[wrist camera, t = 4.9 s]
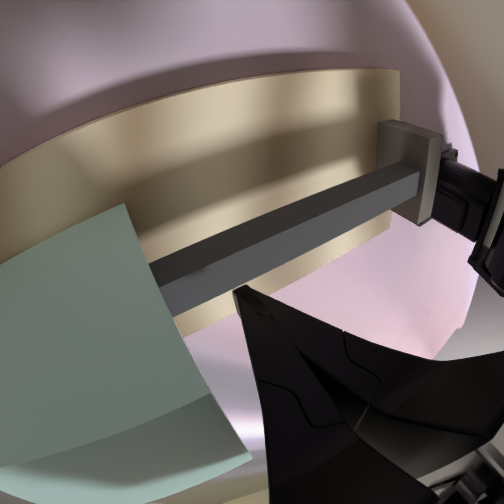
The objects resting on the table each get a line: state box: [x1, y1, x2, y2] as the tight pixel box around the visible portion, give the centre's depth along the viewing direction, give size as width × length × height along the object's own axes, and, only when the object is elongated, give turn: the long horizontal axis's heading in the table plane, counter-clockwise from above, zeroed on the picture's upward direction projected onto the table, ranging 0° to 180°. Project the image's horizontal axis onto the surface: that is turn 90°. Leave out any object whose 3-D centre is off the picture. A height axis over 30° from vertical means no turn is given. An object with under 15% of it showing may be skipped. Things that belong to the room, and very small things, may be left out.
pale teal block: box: [0, 203, 253, 504], centre depth 7 cm, size 6×5×8 cm
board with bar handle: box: [0, 68, 443, 338], centre depth 11 cm, size 30×11×5 cm, turn 98°
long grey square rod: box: [149, 162, 421, 317], centre depth 10 cm, size 29×2×2 cm, turn 98°
